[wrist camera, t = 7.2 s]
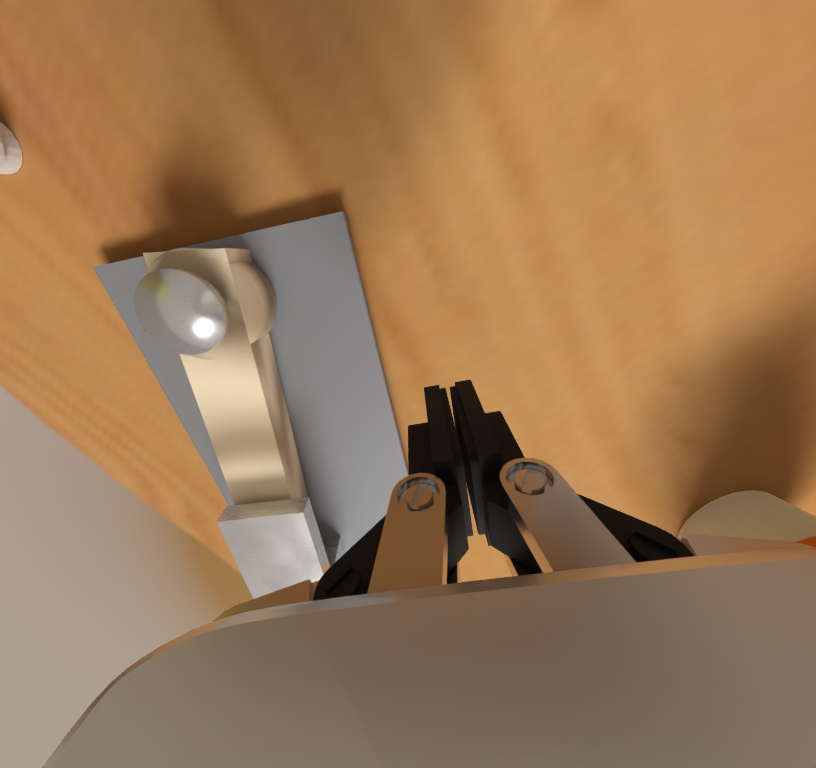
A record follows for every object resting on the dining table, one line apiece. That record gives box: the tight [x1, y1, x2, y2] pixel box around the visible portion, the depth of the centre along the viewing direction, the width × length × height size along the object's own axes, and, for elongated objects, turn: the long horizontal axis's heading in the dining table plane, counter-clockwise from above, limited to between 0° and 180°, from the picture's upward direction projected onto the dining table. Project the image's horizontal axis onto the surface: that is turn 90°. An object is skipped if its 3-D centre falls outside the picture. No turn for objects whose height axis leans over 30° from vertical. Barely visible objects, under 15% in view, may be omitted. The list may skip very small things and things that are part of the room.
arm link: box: [143, 248, 308, 505], centre depth 18 cm, size 19×5×2 cm, turn 3°
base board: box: [93, 211, 409, 553], centre depth 21 cm, size 25×14×1 cm, turn 11°
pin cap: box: [133, 269, 230, 355], centre depth 13 cm, size 4×4×1 cm
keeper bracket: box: [217, 497, 345, 599], centre depth 21 cm, size 10×5×4 cm, turn 6°
